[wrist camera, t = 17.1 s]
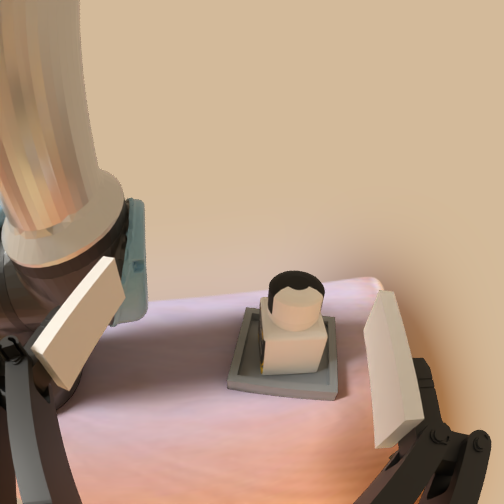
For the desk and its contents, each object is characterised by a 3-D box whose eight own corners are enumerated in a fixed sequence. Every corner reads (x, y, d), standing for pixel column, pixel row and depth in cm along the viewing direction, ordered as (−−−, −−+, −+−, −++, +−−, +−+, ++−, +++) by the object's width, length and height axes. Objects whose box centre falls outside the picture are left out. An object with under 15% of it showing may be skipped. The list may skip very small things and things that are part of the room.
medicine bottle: (257, 334, 41) (262, 263, 34) (308, 333, 41) (322, 263, 35) (260, 376, 35) (267, 306, 28) (317, 373, 35) (338, 304, 29)
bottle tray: (227, 388, 33) (226, 380, 32) (246, 316, 44) (246, 307, 43) (333, 400, 32) (337, 392, 31) (331, 326, 43) (334, 317, 42)
